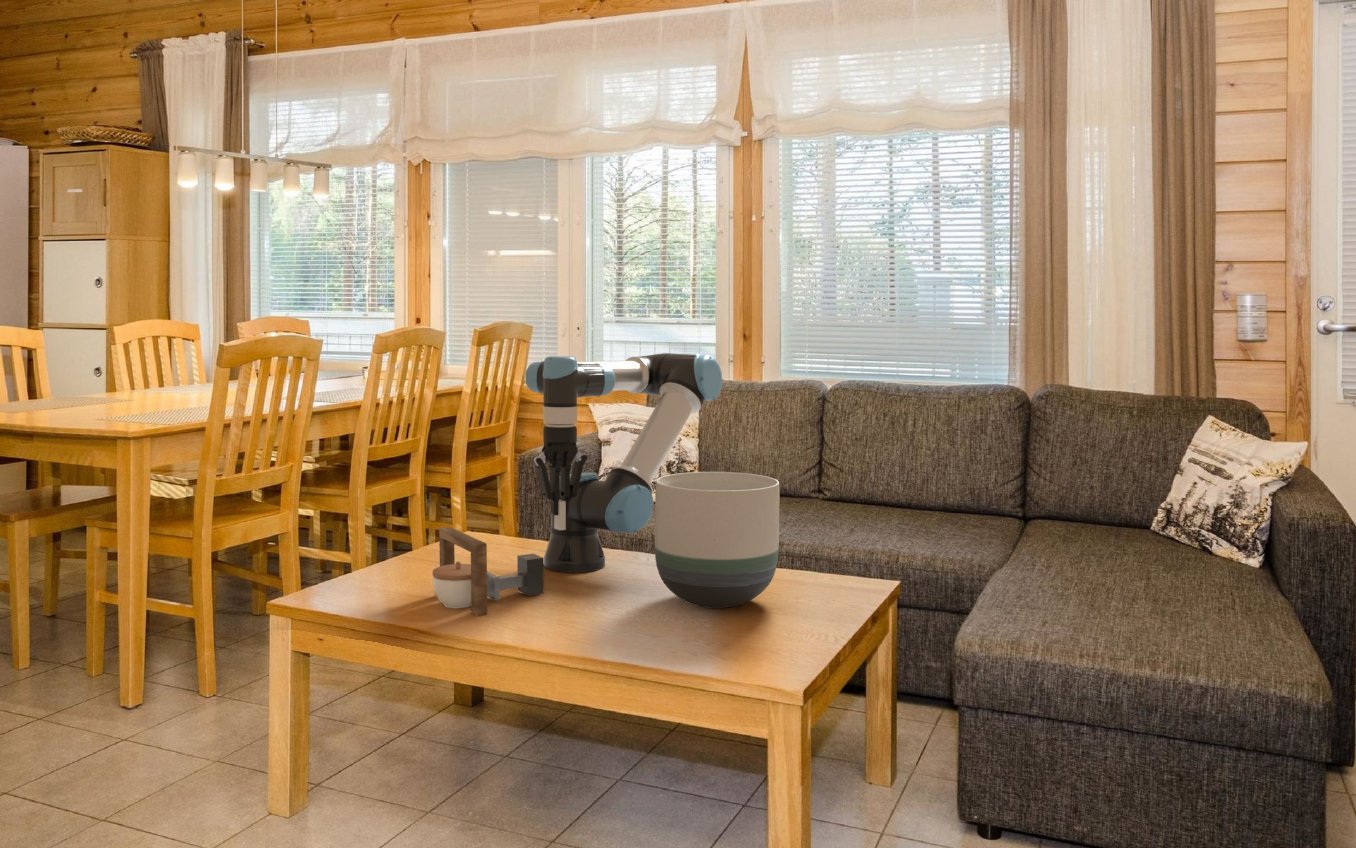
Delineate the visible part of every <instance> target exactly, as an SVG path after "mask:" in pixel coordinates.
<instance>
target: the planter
mask: <svg viewBox="0 0 1356 848" xmlns="http://www.w3.org/2000/svg"><path fill="white" fill-rule="evenodd" d="M654 493H655V506H654V507H655V510H654V511H655V513H654V515H655V516H654V517H655V518H654V529H655V530H654V556H655V564H656V568H657V572H658V575H659V577H660V579H661V581H662V582H663V584H664V585H665V586H666V588H667V589H668V590H669V591H670V592H671V593H672V594H674V595H675V596H676V597H678V598H679V599H680V600H682V601H684V602H685V603H689V604H692V605H695V606H697V607H702V608H711V609H712V608H713V609H714V608H715V609H722V608H723V609H724V608H726V609H727V608H733V607H738V606H741V605H744V604H746V603H748V602H750V601H752V600H753V599H755V598H757V597H758V596H759V595H760V594H761V593H763V592H764V591H765V590H766V589H767V588H768V587H769V586H770V584H771V582H772V581H773V579H774V576H775V573H776V570H777V566H778V562H779V561H778V560H779V550H780V549H779V548H780V545H779V543H780V542H779V541H780V494H781V493H780V482H779V480H778V479H776V478H773V477H770V476H766V475H760V474H755V473H745V472H732V471H698V472H697V471H693V472H692V471H691V472H681V473H680V472H679V473H673V474H667V475H663V476H660V477H658V478H656V480H655V492H654Z"/></svg>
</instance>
